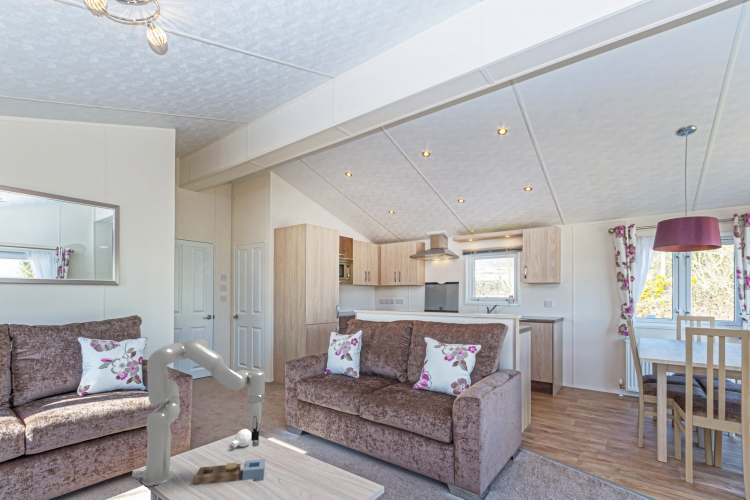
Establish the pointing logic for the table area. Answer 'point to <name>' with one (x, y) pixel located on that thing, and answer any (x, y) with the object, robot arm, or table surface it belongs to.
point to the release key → (231, 466)
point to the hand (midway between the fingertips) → (255, 438)
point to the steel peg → (255, 442)
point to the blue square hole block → (254, 470)
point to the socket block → (216, 474)
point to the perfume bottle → (242, 438)
